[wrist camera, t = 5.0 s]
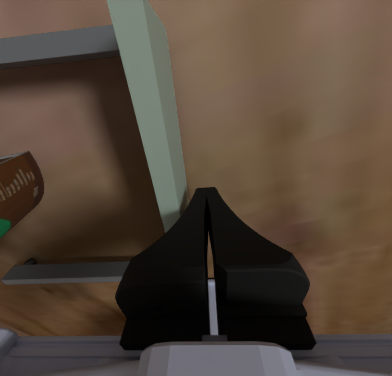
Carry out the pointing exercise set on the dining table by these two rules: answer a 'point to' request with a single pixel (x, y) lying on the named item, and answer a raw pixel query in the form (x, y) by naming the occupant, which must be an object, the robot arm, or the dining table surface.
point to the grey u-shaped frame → (143, 106)
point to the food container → (18, 188)
